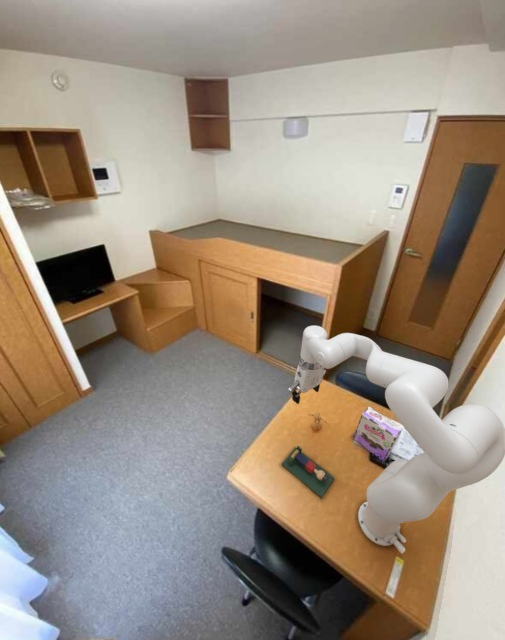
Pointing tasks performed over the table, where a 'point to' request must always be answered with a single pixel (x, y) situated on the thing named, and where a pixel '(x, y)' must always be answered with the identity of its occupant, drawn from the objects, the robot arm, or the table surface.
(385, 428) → the candy box
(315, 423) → the figurine
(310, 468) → the toy soldier
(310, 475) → the stand
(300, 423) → the table surface
